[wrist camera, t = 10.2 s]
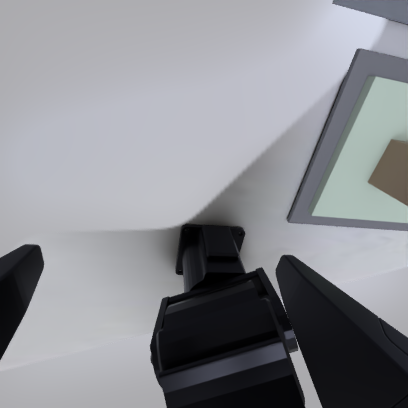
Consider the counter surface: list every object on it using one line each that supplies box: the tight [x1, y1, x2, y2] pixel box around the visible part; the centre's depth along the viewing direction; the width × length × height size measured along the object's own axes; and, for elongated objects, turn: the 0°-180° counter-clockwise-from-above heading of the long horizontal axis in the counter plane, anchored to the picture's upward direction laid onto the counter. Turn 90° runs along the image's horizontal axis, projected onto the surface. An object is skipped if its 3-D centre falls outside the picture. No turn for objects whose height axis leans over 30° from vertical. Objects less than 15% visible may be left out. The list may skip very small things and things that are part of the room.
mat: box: [287, 49, 408, 231], centre depth 22 cm, size 15×15×1 cm
